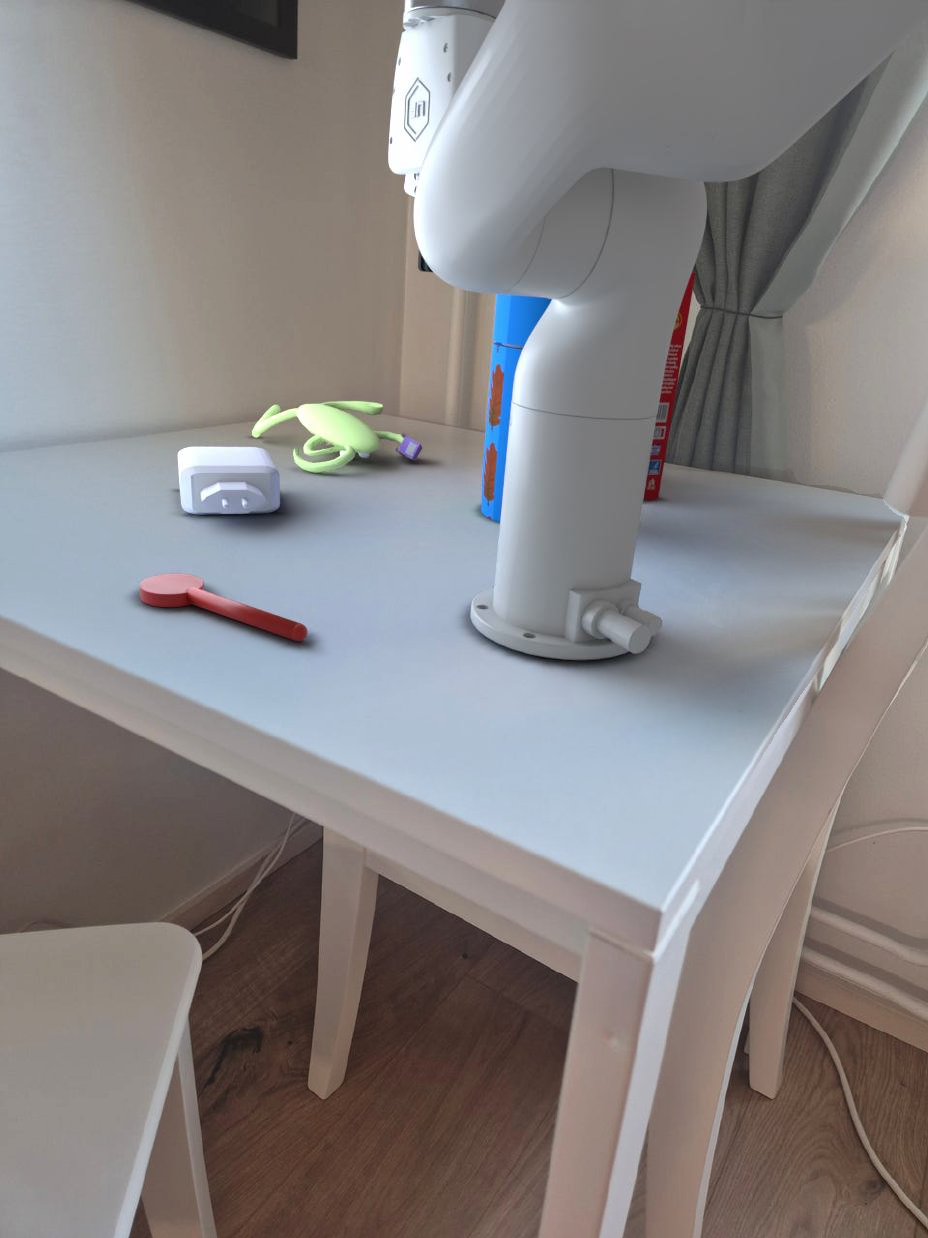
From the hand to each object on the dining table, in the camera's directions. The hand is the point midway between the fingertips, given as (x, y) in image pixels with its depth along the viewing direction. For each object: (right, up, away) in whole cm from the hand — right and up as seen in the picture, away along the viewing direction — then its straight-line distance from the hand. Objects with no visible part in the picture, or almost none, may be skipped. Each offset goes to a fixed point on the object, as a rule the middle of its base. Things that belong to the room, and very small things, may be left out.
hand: (439, 271), depth 69 cm
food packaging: (+20, -12, +35) cm, 42 cm away
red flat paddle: (-15, -28, -11) cm, 34 cm away
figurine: (-15, -6, +42) cm, 45 cm away
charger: (-21, -18, +13) cm, 31 cm away
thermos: (+9, -18, +19) cm, 28 cm away
